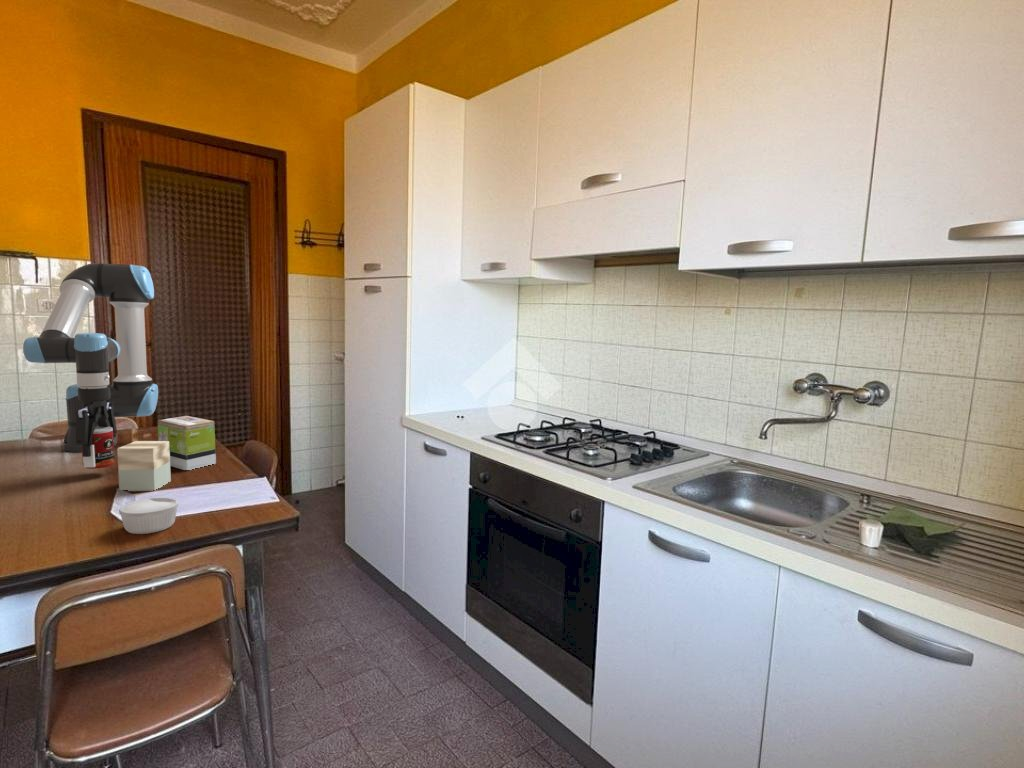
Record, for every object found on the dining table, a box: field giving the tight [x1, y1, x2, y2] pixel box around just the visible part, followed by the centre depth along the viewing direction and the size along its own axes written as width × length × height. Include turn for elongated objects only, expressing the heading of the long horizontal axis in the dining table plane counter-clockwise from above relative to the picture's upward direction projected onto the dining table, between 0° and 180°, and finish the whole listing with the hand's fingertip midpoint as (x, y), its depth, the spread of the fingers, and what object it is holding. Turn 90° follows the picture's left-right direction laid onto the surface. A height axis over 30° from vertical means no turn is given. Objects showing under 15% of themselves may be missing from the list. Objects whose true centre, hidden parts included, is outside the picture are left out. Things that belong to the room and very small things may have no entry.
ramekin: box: [118, 497, 179, 535], centre depth 126 cm, size 11×11×5 cm
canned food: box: [81, 426, 116, 470], centre depth 162 cm, size 8×8×11 cm
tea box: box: [157, 415, 217, 471], centre depth 177 cm, size 15×10×15 cm
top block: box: [116, 440, 170, 470], centre depth 154 cm, size 9×9×6 cm
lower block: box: [117, 462, 172, 492], centre depth 155 cm, size 9×9×6 cm
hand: (98, 462), depth 163 cm, fingers closed on canned food, 8 cm apart
